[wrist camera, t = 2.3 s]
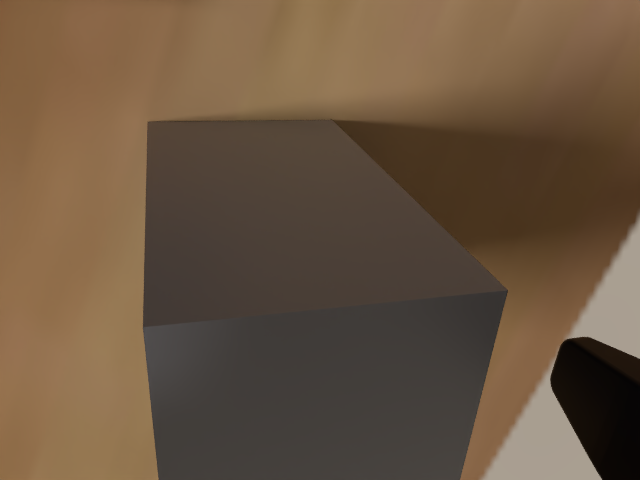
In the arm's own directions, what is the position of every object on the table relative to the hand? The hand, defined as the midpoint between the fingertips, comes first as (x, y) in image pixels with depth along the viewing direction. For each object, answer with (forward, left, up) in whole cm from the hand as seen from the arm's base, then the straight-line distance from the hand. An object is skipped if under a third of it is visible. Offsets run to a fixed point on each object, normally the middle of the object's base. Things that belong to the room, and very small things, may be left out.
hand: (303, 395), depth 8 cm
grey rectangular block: (0, 0, -7) cm, 7 cm away
